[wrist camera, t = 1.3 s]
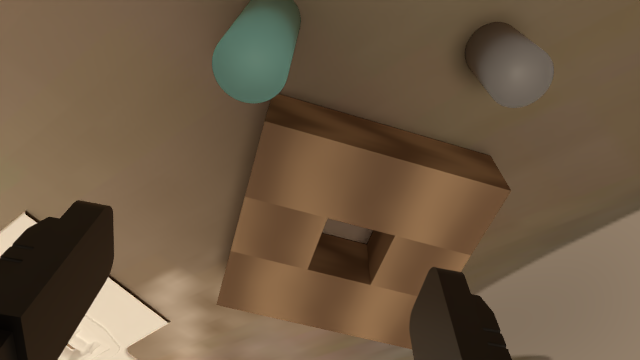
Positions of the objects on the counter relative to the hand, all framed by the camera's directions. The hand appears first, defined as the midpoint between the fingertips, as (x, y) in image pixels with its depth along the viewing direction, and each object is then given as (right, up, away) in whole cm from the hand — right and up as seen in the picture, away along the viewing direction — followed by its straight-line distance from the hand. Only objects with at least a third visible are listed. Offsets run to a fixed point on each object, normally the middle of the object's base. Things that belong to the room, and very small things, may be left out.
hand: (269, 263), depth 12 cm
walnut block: (+3, 0, +20) cm, 20 cm away
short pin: (+11, +9, +14) cm, 20 cm away
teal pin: (-1, +11, +13) cm, 17 cm away
